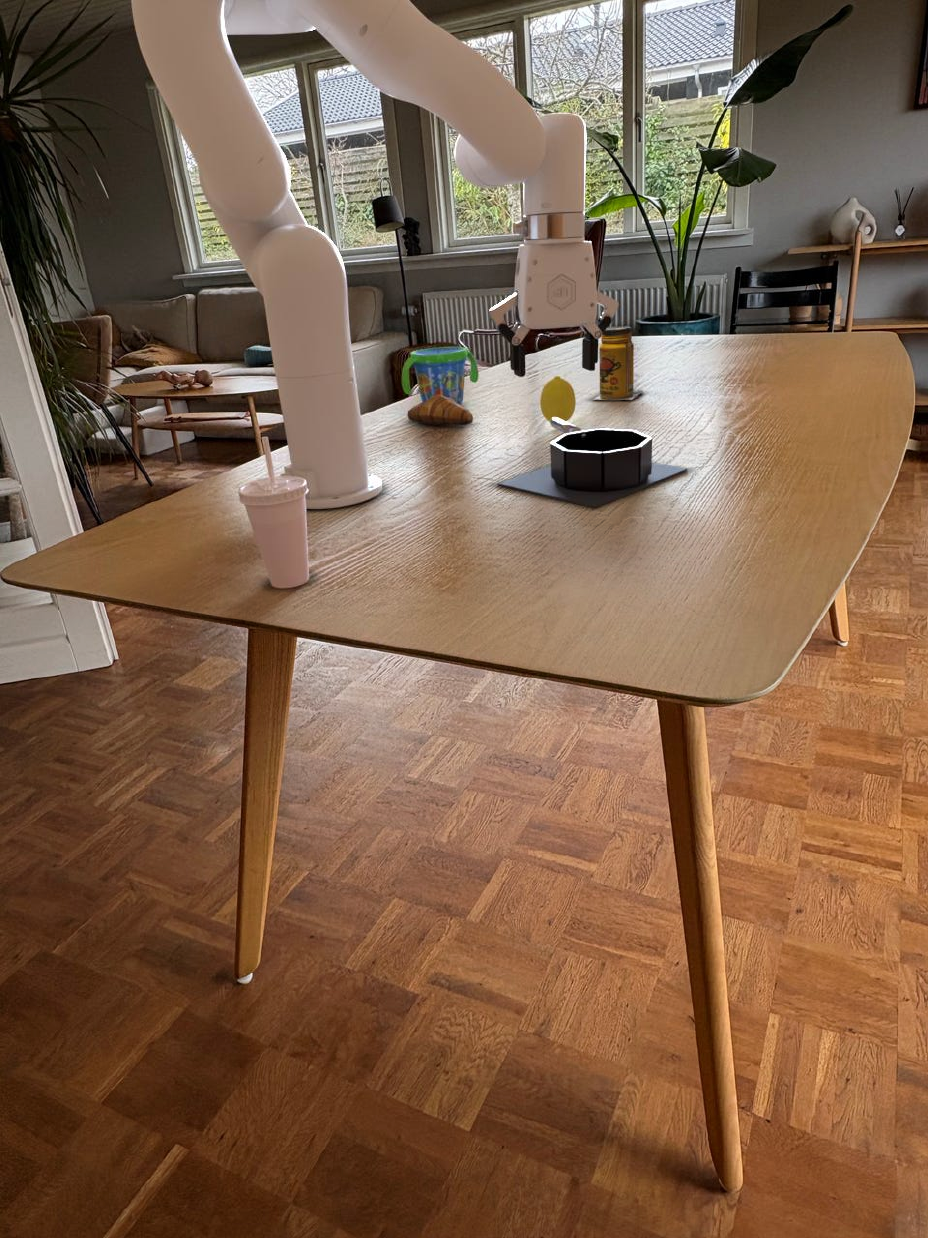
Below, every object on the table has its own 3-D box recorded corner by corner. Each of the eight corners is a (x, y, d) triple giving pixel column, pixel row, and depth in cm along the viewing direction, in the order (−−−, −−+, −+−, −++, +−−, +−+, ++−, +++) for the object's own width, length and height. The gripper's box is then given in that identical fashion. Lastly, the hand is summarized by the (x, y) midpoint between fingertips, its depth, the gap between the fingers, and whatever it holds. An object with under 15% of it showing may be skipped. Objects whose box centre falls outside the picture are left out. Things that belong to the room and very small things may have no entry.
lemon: (575, 422, 131) (574, 371, 128) (576, 430, 126) (575, 377, 123) (541, 424, 132) (539, 374, 129) (541, 432, 127) (539, 380, 124)
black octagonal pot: (665, 482, 97) (666, 442, 95) (576, 497, 95) (575, 456, 93) (591, 445, 116) (591, 410, 114) (515, 456, 114) (514, 422, 111)
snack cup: (467, 396, 159) (463, 342, 155) (493, 403, 151) (489, 346, 146) (394, 409, 153) (388, 353, 149) (417, 417, 145) (411, 358, 140)
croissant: (483, 421, 137) (481, 391, 135) (460, 430, 132) (457, 399, 130) (422, 417, 145) (419, 388, 143) (397, 425, 140) (394, 396, 138)
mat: (594, 508, 92) (594, 505, 92) (497, 485, 103) (497, 483, 103) (687, 470, 102) (687, 468, 102) (589, 453, 113) (589, 451, 113)
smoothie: (326, 565, 82) (303, 427, 76) (318, 590, 76) (293, 444, 70) (263, 571, 82) (236, 433, 76) (251, 596, 76) (219, 450, 70)
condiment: (592, 400, 146) (591, 330, 141) (607, 391, 153) (606, 324, 148) (631, 401, 143) (632, 329, 138) (644, 391, 150) (646, 323, 144)
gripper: (494, 233, 96) (499, 381, 103) (631, 226, 99) (626, 371, 106) (479, 234, 102) (484, 374, 110) (608, 227, 105) (604, 363, 113)
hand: (554, 372), depth 108 cm, fingers open, 9 cm apart
